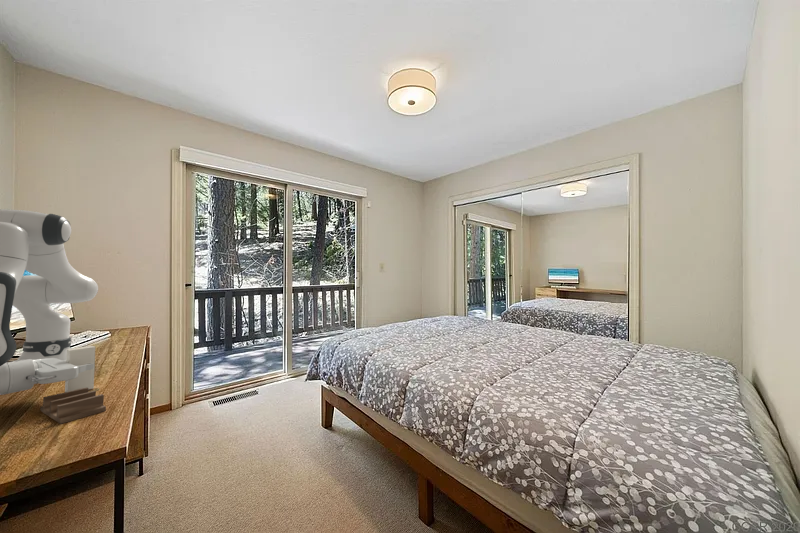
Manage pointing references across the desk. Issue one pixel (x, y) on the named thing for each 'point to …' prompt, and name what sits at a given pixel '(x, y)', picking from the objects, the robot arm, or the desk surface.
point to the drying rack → (72, 405)
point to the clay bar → (80, 358)
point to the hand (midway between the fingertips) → (87, 363)
